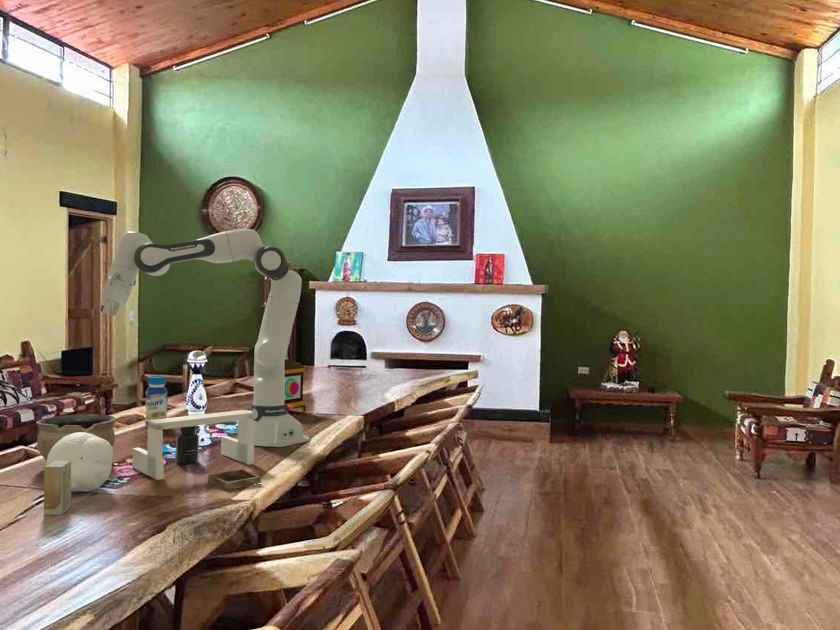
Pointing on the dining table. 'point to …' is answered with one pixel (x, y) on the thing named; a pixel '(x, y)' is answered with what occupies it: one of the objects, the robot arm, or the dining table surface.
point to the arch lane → (230, 447)
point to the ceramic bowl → (73, 429)
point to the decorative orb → (84, 459)
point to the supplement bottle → (187, 446)
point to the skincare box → (57, 487)
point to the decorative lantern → (293, 384)
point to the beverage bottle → (156, 398)
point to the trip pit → (233, 479)
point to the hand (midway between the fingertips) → (108, 314)
